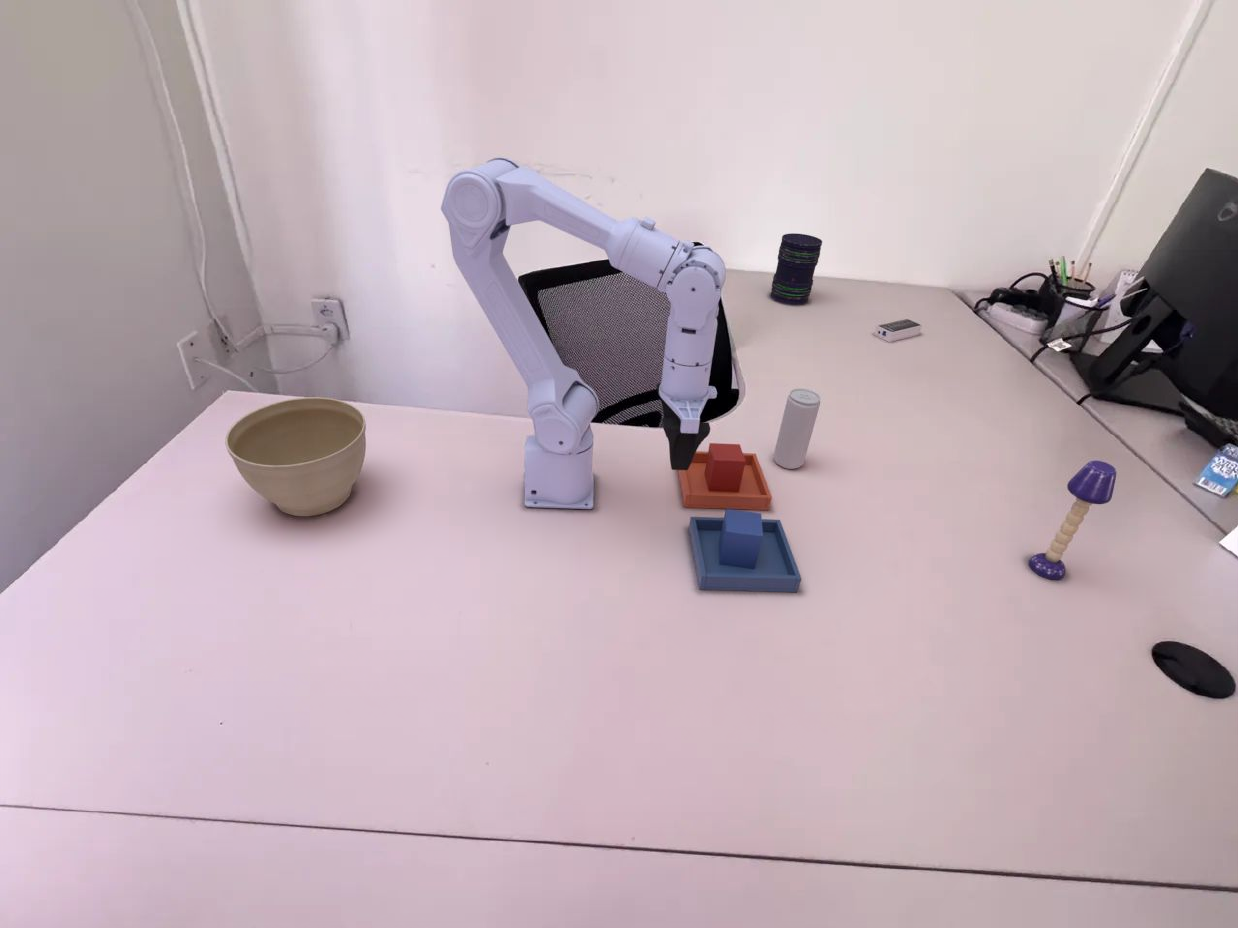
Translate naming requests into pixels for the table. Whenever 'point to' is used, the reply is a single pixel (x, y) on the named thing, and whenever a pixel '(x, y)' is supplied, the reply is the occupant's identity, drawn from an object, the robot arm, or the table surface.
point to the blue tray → (769, 573)
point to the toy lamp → (1076, 514)
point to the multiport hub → (898, 330)
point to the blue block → (740, 538)
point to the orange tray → (748, 497)
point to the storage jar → (795, 268)
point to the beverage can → (796, 428)
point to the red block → (724, 467)
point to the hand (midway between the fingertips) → (676, 451)
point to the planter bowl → (300, 452)
